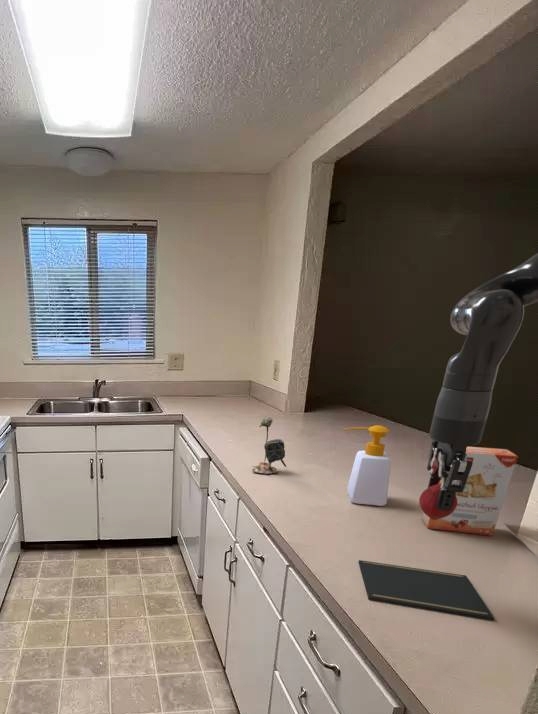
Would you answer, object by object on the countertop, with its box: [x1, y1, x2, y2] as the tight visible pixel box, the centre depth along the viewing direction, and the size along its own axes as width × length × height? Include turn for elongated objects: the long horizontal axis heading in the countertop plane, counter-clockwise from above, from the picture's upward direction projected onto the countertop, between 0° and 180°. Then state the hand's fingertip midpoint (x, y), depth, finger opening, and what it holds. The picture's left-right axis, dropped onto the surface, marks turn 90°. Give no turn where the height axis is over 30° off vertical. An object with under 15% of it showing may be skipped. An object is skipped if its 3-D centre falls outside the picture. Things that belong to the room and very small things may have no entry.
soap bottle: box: [342, 424, 392, 507], centre depth 124 cm, size 10×14×22 cm
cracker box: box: [421, 446, 519, 537], centre depth 106 cm, size 14×6×21 cm, turn 72°
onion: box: [418, 480, 457, 520], centre depth 81 cm, size 6×6×8 cm
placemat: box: [358, 559, 495, 621], centre depth 86 cm, size 20×14×1 cm
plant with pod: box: [252, 415, 287, 475], centre depth 147 cm, size 8×11×20 cm
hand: (437, 502), depth 81 cm, fingers closed on onion, 6 cm apart
